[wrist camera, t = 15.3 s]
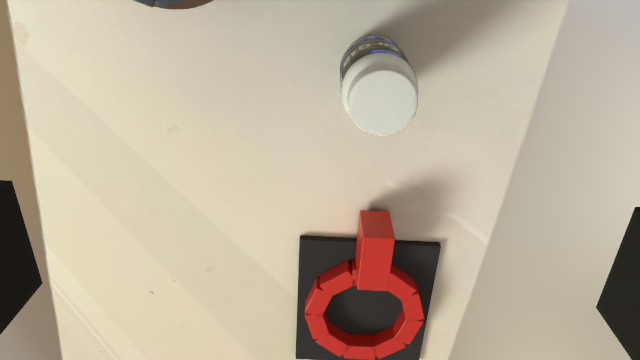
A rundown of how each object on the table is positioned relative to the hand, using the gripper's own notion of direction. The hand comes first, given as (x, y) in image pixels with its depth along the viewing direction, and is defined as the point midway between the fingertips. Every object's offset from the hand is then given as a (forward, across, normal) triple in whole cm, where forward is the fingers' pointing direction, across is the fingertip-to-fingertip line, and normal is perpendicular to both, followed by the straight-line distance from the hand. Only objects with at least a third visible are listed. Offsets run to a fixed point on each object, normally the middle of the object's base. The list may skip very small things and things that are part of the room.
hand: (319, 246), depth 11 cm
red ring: (+25, +4, -22) cm, 34 cm away
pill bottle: (+26, +3, -3) cm, 27 cm away
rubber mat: (+26, +4, -24) cm, 36 cm away
